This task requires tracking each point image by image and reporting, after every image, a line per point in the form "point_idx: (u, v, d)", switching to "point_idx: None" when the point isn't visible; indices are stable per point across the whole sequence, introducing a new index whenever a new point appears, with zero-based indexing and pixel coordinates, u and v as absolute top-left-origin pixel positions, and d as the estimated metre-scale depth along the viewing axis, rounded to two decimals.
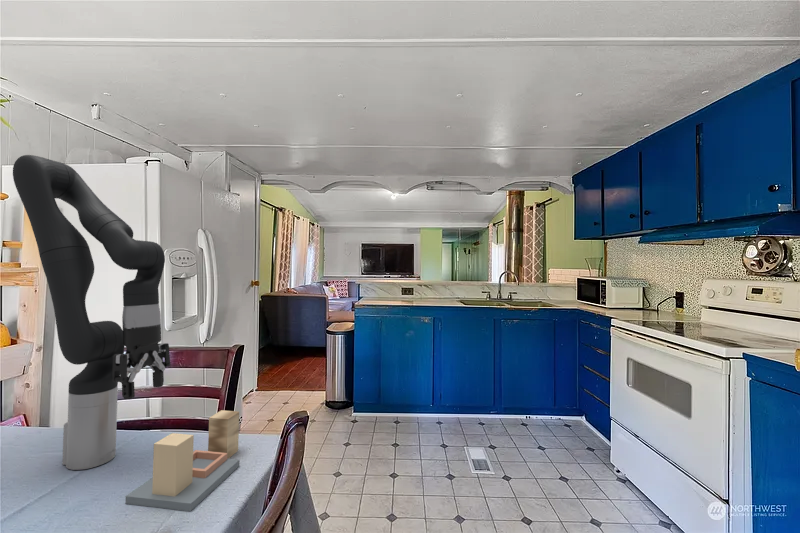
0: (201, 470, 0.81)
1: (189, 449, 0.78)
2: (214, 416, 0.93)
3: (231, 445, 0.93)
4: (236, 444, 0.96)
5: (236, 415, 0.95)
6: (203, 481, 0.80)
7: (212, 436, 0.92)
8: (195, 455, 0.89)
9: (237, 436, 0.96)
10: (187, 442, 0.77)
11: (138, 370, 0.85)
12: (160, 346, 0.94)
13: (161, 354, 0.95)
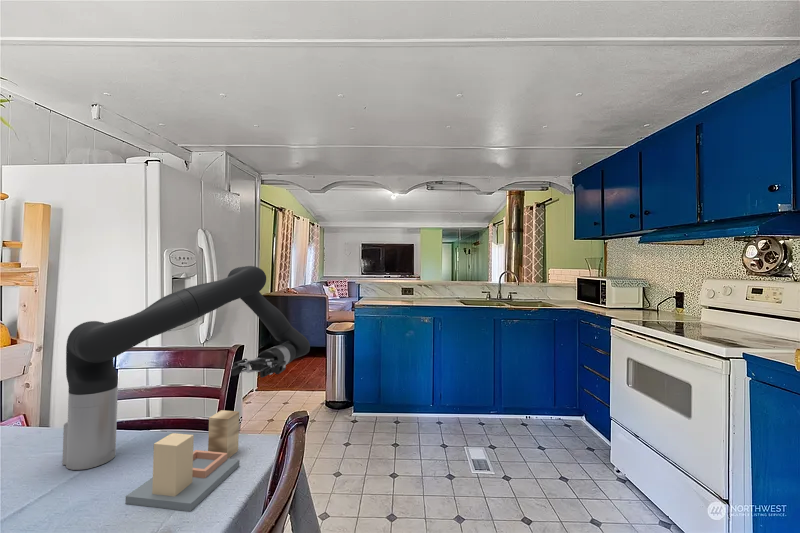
0: (201, 470, 0.81)
1: (189, 449, 0.78)
2: (214, 416, 0.93)
3: (231, 445, 0.93)
4: (236, 444, 0.96)
5: (236, 415, 0.95)
6: (203, 481, 0.80)
7: (212, 436, 0.92)
8: (195, 455, 0.89)
9: (237, 436, 0.96)
10: (187, 442, 0.77)
11: None
12: None
13: (242, 364, 1.13)
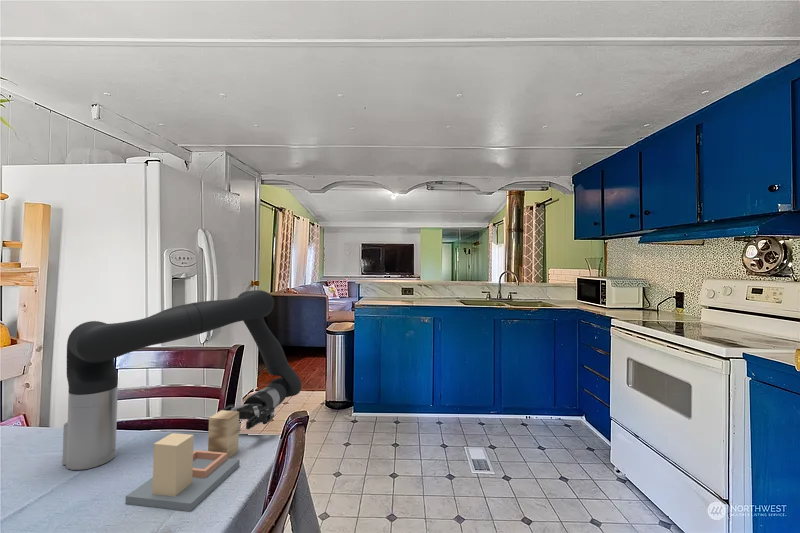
0: (201, 470, 0.81)
1: (189, 449, 0.78)
2: (214, 416, 0.93)
3: (230, 445, 0.93)
4: (236, 444, 0.96)
5: (236, 415, 0.95)
6: (203, 481, 0.80)
7: (212, 436, 0.92)
8: (195, 455, 0.89)
9: (237, 436, 0.96)
10: (187, 442, 0.77)
11: None
12: None
13: None
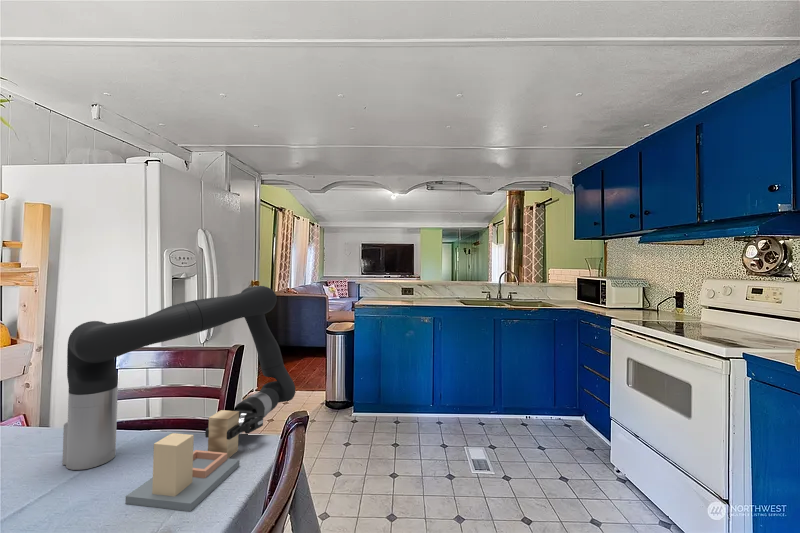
0: (201, 470, 0.81)
1: (189, 449, 0.78)
2: (214, 416, 0.93)
3: (230, 445, 0.93)
4: (236, 444, 0.96)
5: (236, 415, 0.95)
6: (203, 481, 0.80)
7: (212, 435, 0.92)
8: (195, 455, 0.89)
9: (236, 436, 0.96)
10: (187, 442, 0.77)
11: None
12: None
13: None
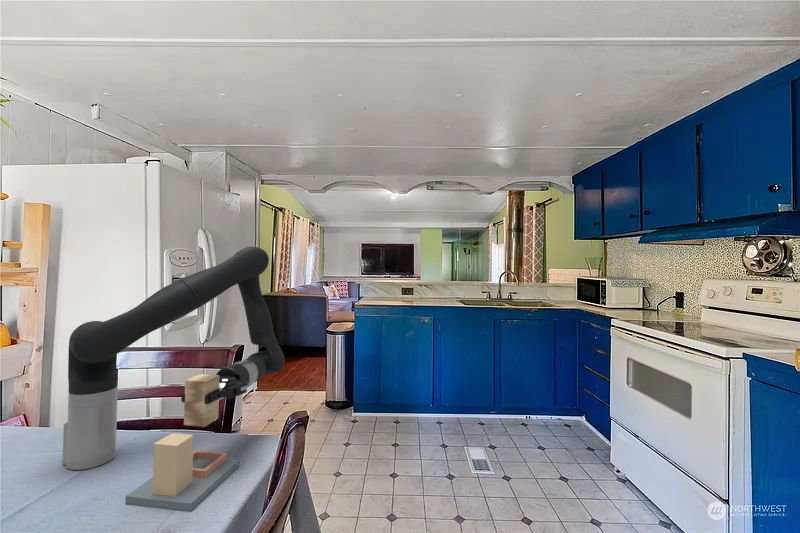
0: (201, 470, 0.81)
1: (189, 449, 0.78)
2: (191, 379, 0.84)
3: (209, 411, 0.84)
4: (216, 410, 0.87)
5: (216, 379, 0.87)
6: (203, 481, 0.80)
7: (189, 400, 0.83)
8: (195, 455, 0.89)
9: (217, 402, 0.87)
10: (187, 442, 0.77)
11: None
12: None
13: None
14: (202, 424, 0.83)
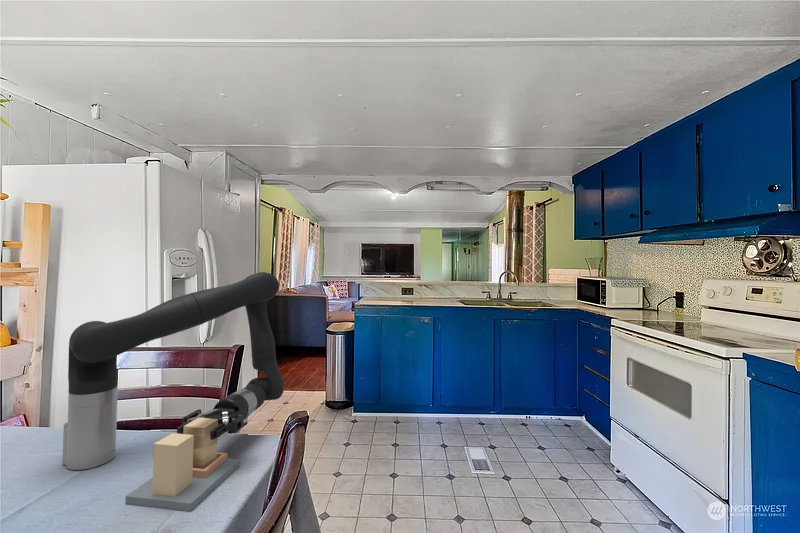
0: (201, 470, 0.81)
1: (189, 449, 0.78)
2: (189, 424, 0.84)
3: (208, 457, 0.84)
4: (214, 455, 0.87)
5: (214, 423, 0.86)
6: (203, 481, 0.80)
7: None
8: None
9: (215, 446, 0.87)
10: (187, 442, 0.77)
11: None
12: None
13: None
14: None
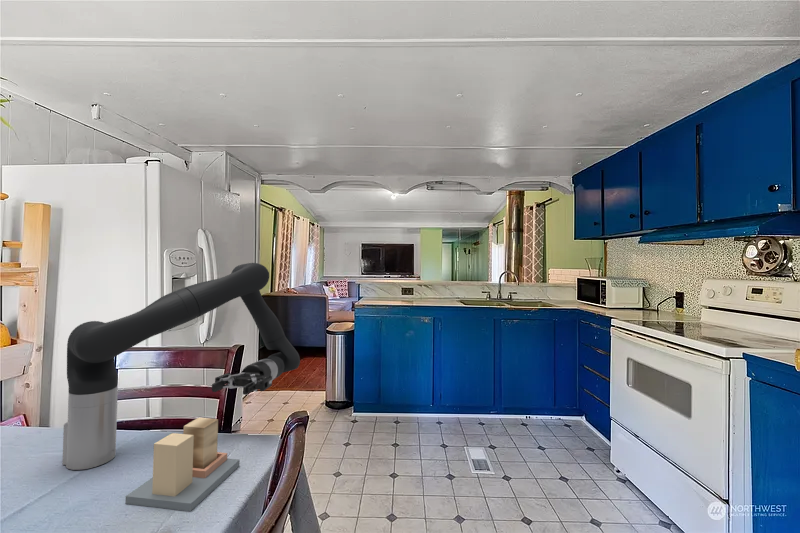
0: (201, 470, 0.81)
1: (189, 449, 0.78)
2: (189, 424, 0.84)
3: (208, 457, 0.84)
4: (214, 455, 0.87)
5: (214, 423, 0.86)
6: (203, 481, 0.80)
7: None
8: None
9: (215, 446, 0.87)
10: (187, 442, 0.77)
11: None
12: None
13: None
14: None
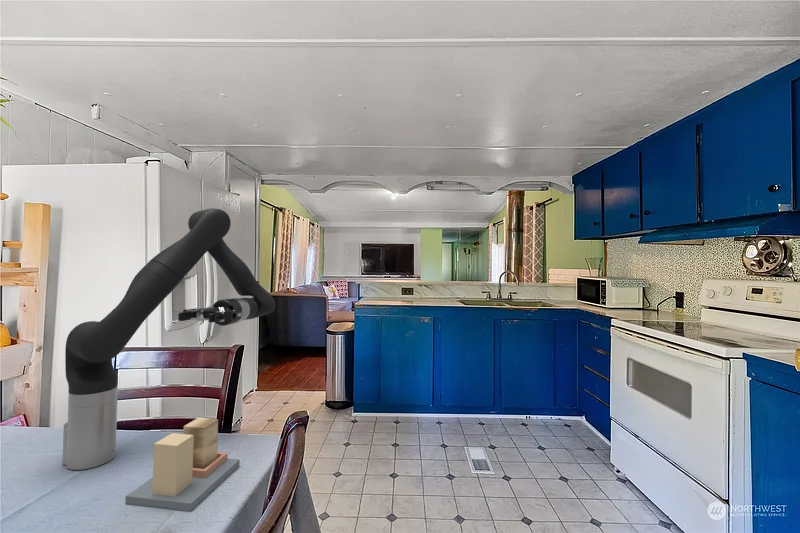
0: (201, 470, 0.81)
1: (189, 449, 0.78)
2: (189, 424, 0.84)
3: (208, 457, 0.84)
4: (214, 455, 0.87)
5: (214, 423, 0.86)
6: (203, 481, 0.80)
7: None
8: None
9: (215, 446, 0.87)
10: (187, 442, 0.77)
11: (220, 321, 1.01)
12: None
13: (194, 313, 1.04)
14: None
